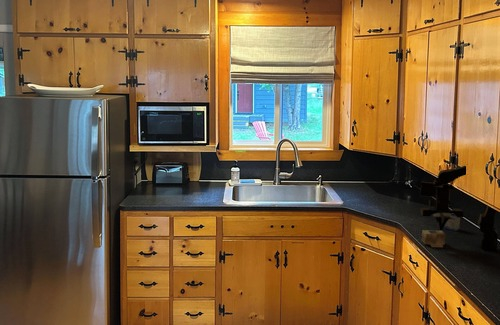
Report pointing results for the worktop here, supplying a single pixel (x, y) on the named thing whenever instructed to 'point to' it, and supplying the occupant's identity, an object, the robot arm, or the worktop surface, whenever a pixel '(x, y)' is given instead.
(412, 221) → the worktop surface
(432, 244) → the mat
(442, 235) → the wooden block
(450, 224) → the medicine box
